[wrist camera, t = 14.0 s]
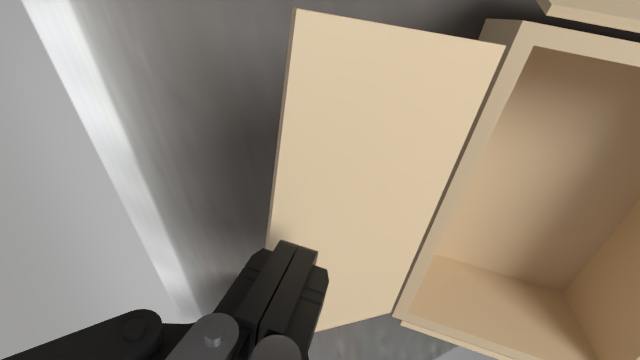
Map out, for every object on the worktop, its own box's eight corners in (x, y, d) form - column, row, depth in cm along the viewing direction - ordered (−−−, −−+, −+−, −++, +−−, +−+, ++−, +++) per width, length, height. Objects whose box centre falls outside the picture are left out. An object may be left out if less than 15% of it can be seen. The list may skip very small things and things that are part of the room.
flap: (498, 43, 13) (292, 7, 10) (506, 45, 13) (296, 8, 9) (387, 307, 22) (254, 340, 18) (390, 312, 21) (256, 347, 18)
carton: (503, -25, 19) (553, -48, 12) (789, 25, 17) (1053, 34, 10) (390, 263, 30) (383, 336, 23) (551, 314, 28) (594, 411, 21)
